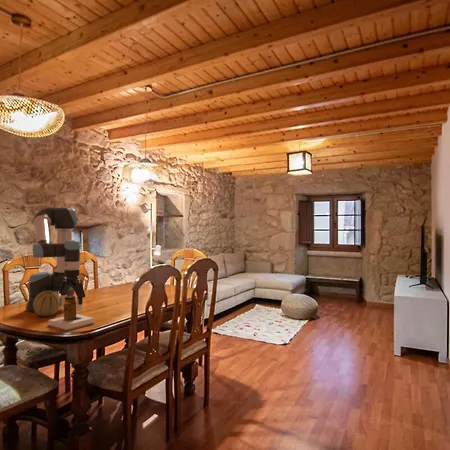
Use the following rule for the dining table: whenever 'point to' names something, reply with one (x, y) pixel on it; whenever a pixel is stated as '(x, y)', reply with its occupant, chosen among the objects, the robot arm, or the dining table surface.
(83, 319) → the stand
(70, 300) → the condiment
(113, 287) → the dining table surface
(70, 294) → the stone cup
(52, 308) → the cantaloupe
